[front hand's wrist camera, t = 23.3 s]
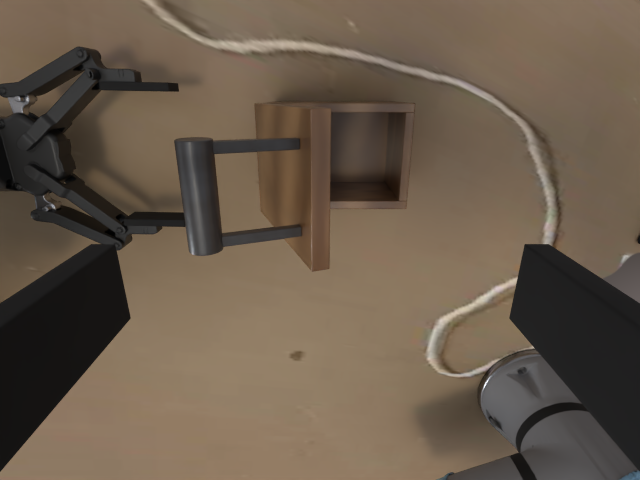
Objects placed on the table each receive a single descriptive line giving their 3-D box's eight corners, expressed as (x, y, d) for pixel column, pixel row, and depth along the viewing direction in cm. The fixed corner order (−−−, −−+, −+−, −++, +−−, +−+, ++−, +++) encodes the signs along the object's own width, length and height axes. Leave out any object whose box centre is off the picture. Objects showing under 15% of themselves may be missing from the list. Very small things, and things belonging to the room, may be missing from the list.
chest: (395, 101, 44) (415, 103, 35) (389, 186, 48) (406, 208, 38) (274, 101, 44) (262, 103, 35) (277, 186, 48) (267, 208, 38)
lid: (331, 107, 21) (170, 109, 19) (329, 269, 25) (195, 291, 22) (268, 103, 34) (167, 104, 31) (273, 210, 38) (182, 219, 35)
